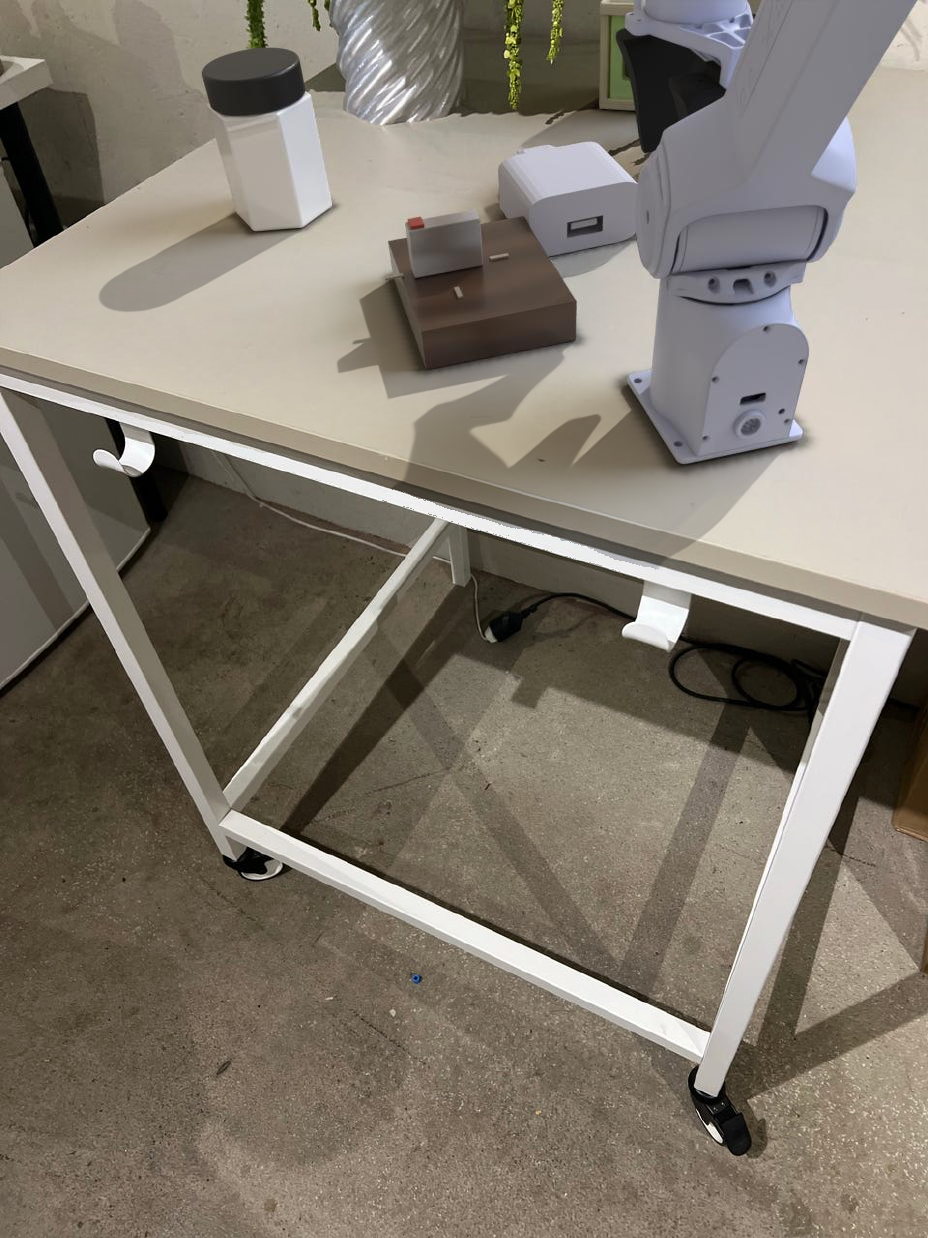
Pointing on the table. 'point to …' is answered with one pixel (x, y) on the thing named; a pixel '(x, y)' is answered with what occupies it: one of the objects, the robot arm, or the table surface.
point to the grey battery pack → (444, 243)
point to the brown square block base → (487, 299)
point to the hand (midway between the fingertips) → (677, 171)
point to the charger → (569, 196)
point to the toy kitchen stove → (614, 57)
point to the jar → (267, 137)
